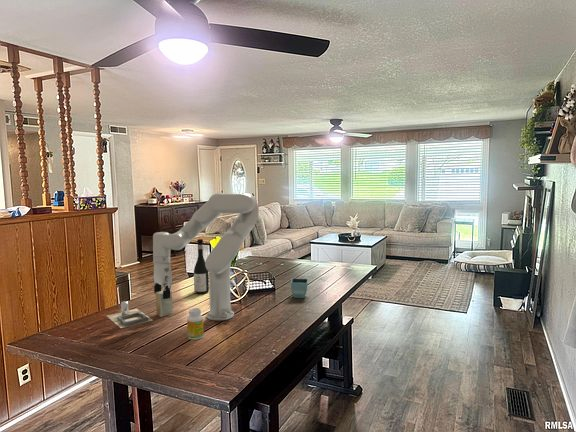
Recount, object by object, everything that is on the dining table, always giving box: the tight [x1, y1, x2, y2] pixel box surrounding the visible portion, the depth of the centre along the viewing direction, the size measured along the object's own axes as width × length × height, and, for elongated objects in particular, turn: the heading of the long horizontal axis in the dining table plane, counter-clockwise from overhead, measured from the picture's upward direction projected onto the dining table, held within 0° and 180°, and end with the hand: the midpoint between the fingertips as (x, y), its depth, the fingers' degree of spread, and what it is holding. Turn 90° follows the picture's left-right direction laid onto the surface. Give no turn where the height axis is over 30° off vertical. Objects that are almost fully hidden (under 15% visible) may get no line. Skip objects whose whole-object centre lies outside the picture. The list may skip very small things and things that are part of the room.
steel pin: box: [120, 300, 130, 316], centre depth 184 cm, size 3×3×6 cm
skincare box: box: [155, 290, 174, 318], centre depth 184 cm, size 6×4×12 cm
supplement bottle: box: [186, 307, 205, 341], centre depth 161 cm, size 6×6×11 cm
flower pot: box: [290, 278, 309, 299], centre depth 213 cm, size 9×9×9 cm
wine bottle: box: [193, 238, 209, 295], centre depth 222 cm, size 8×8×30 cm
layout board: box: [106, 308, 153, 329], centre depth 180 cm, size 20×14×3 cm
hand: (162, 295), depth 183 cm, fingers open, 9 cm apart
